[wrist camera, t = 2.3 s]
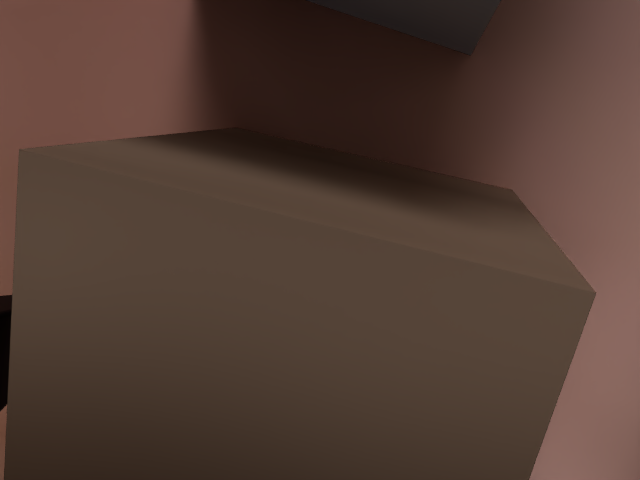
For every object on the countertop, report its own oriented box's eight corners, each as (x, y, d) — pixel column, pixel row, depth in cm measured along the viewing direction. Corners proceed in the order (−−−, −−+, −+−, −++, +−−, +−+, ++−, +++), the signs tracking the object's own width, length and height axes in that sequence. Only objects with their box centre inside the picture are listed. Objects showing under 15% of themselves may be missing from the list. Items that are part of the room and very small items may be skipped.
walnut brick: (392, 588, 11) (350, 973, 6) (179, 513, 11) (-11, 804, 7) (511, 188, 8) (595, 293, 4) (238, 127, 9) (17, 149, 4)
